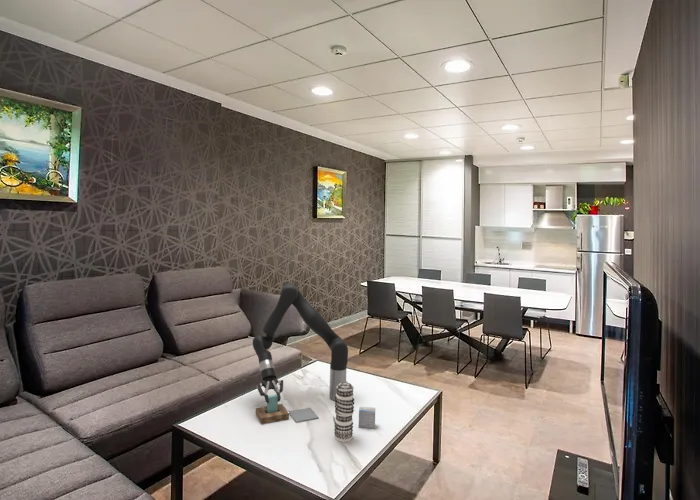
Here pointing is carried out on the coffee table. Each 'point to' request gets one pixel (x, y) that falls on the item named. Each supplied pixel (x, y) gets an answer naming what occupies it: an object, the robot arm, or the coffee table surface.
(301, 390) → the coffee table surface
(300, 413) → the mat
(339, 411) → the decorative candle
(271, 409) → the teal rectangular block
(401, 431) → the coffee table surface
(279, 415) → the holder
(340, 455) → the coffee table surface
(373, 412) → the medicine box
